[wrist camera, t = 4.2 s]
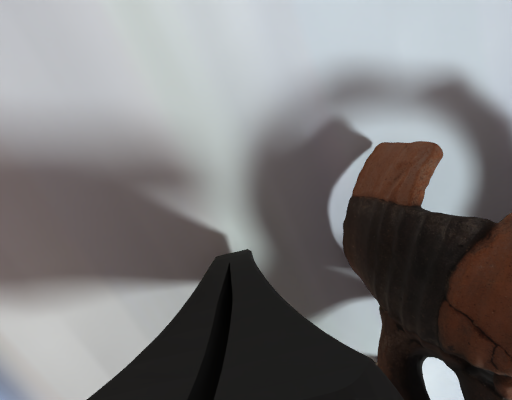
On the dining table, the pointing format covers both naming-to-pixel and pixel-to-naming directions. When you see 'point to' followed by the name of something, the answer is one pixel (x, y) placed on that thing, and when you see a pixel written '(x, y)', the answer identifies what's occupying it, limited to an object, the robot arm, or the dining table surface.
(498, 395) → the brown curved wooden piece
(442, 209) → the dining table surface
